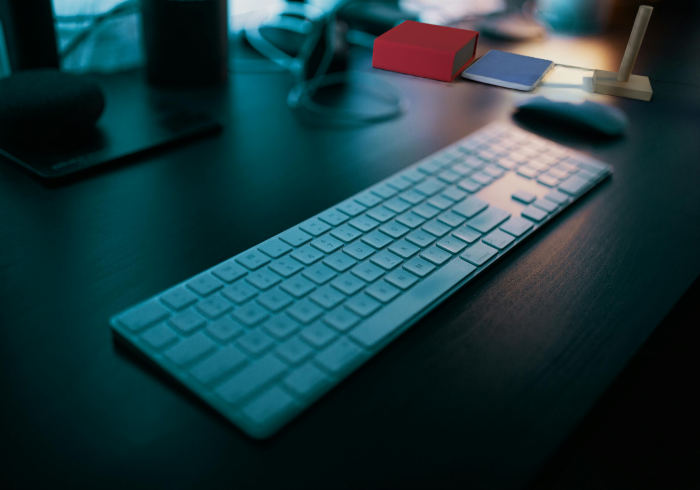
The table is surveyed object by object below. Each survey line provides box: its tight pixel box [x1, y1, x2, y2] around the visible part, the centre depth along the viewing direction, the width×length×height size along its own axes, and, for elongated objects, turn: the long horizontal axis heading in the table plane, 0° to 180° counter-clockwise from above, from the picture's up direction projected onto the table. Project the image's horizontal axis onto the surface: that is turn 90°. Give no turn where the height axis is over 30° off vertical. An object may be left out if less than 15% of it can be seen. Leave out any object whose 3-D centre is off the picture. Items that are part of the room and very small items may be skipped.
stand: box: [592, 5, 654, 102], centre depth 98 cm, size 9×9×14 cm
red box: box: [371, 19, 480, 83], centre depth 106 cm, size 18×14×5 cm
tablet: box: [461, 49, 555, 92], centre depth 105 cm, size 19×13×1 cm, turn 153°
